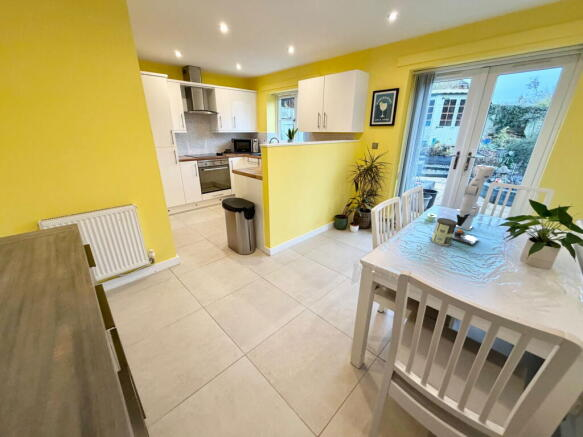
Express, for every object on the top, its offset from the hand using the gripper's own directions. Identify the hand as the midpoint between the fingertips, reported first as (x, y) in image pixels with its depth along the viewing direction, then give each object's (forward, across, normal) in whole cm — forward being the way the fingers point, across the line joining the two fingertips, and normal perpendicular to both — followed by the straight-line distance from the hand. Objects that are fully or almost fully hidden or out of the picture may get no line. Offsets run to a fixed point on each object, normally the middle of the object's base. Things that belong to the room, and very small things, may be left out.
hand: (460, 224), depth 146 cm
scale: (+9, +2, +4) cm, 10 cm away
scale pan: (+6, +5, +6) cm, 10 cm away
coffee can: (+9, +16, -5) cm, 19 cm away
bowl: (+9, -17, -20) cm, 28 cm away
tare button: (+6, -2, +1) cm, 7 cm away
